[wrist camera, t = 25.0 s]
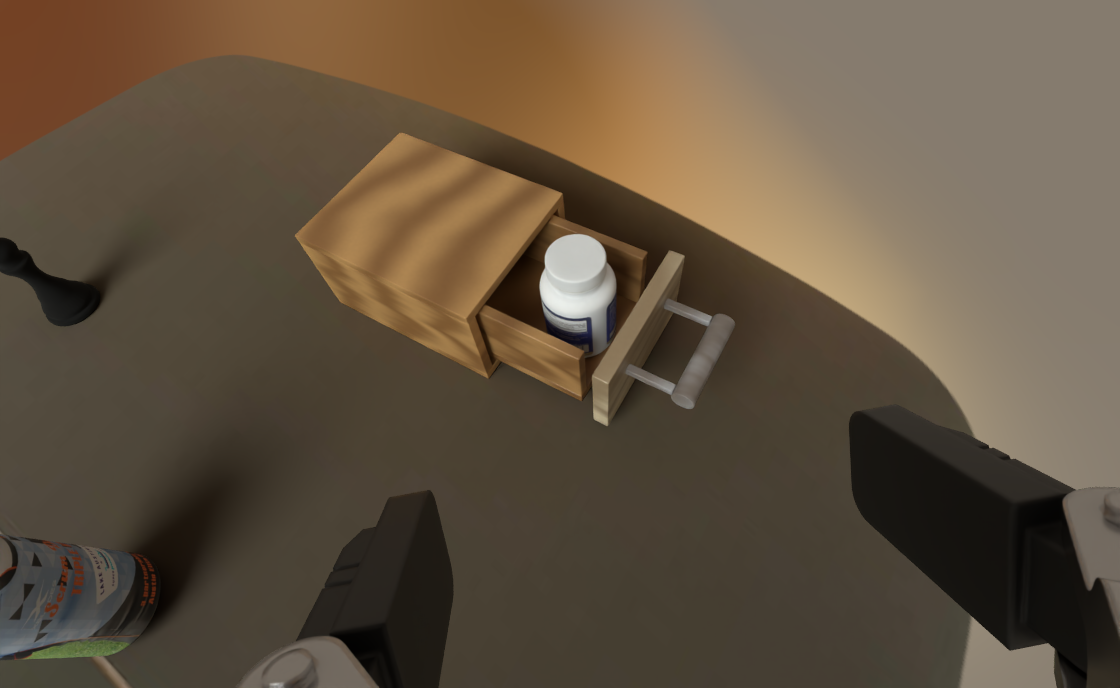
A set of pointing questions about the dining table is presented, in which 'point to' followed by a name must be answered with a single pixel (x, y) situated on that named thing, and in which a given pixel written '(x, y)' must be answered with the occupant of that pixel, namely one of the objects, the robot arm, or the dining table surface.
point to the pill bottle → (579, 293)
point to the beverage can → (72, 599)
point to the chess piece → (50, 287)
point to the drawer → (640, 320)
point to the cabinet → (427, 242)
